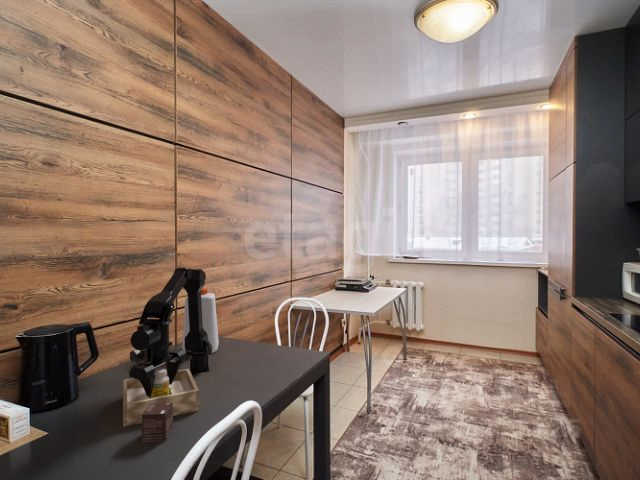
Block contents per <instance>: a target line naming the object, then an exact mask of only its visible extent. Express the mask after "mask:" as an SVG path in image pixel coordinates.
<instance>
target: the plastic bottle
mask: <svg viewBox="0 0 640 480" xmlns="http://www.w3.org/2000/svg"><path fill="white" fill-rule="evenodd" d="M215 295H216V294H214V293H211V292H208V288H207V287H203V288H202V290H201V303H202V322H203V329H204V330H205V331H206V333H207V334H208V340H209V342H210V343H211V345H212V354H214V353H215V352H216V351H217V350H218V348H219V343H220V341H219V329H218V316H217V306H216V296H215ZM183 313H184V314H183V327H182V328H183V330H182V343H181V345H182V346H181V350H184V351H185V337H186V336H187V334H188V332H189V312H188V295H187V296H186V297H185V300H184V312H183ZM185 352H186V351H185Z"/></svg>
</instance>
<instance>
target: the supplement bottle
mask: <svg viewBox="0 0 640 480" xmlns="http://www.w3.org/2000/svg"><path fill="white" fill-rule="evenodd" d="M166 374H167V368H157V369H156V368H155V373H154V375H156V376H155V381H154V386H153V391H152V394H151V398H156V397H161V396H166V395H169V377H168V376H167V375H166Z"/></svg>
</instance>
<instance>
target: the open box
mask: <svg viewBox="0 0 640 480" xmlns="http://www.w3.org/2000/svg"><path fill="white" fill-rule="evenodd" d="M192 374H193V373H192V372H191V371H190V369H189V368H184V369H179V370H178V372H177V374H176V376H175V378H174V380H173V383H172V384H171V385H169V395H166V396H161V397H156V398H151V397H147V395H146V393H145V390H144V388H143V386H142V384H141V382H140V381H139V380H138V379H134V378H132V377H130V378H125V379H123V380H122V387H123V388H122V417H123V418H122V425H123V427H122V428H126V427H129V426H134V425H138V424H139V425H140V424H142V413H143V412H144V411H145V410H146V408H147V407H148V406H149V405H150V404H152V403H173V417H175V416H180V415H185V414H188V413H189V414H190V413H193V412H199V411H200V389H199V387H198V385H197V383H196V380H195V379H194V377H193V375H192ZM166 375H167V374H166Z"/></svg>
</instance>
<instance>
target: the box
mask: <svg viewBox="0 0 640 480" xmlns="http://www.w3.org/2000/svg"><path fill="white" fill-rule="evenodd" d="M173 417H174V416H173V403H152V404H150V405H149V406H148V407H147V408H146V410H145V411H144V412H143V413H142V423H141V442H142V443H151V442H153V443H154V442H166V441H167V439H168V437H169V436H170V434H171V432H172V430H173V428H174V425H173V424H174V422H173V421H174V418H173Z"/></svg>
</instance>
